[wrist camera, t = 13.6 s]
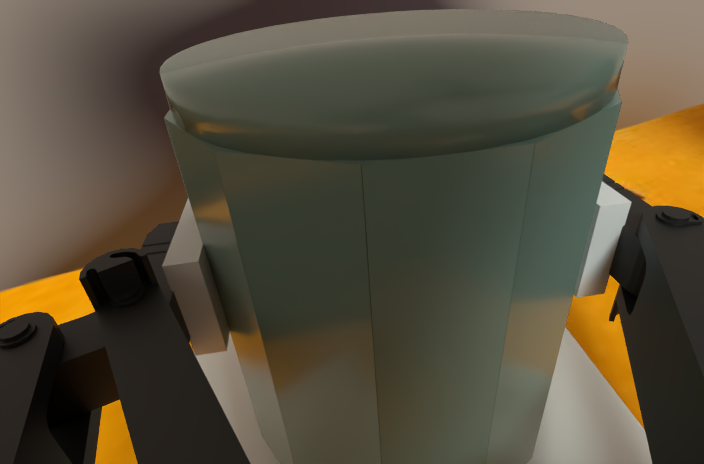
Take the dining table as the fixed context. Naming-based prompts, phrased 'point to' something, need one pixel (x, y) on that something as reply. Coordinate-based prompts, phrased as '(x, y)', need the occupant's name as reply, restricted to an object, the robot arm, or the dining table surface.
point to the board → (555, 430)
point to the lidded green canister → (398, 220)
